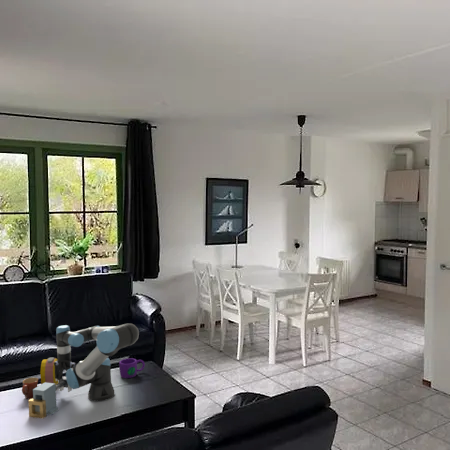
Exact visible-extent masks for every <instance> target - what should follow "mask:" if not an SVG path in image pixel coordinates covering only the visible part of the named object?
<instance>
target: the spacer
mask: <svg viewBox="0 0 450 450" xmlns="http://www.w3.org/2000/svg"><path fill="white" fill-rule="evenodd" d="M27 401H28V403H27V404H28V417H29V418H36V419H45V418H46V417H47V415H46V400H39V399H28V400H27ZM35 405H39V406H40V412H35Z"/></svg>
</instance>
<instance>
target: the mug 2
mask: <svg viewBox="0 0 450 450" xmlns="http://www.w3.org/2000/svg"><path fill="white" fill-rule="evenodd" d="M118 363H119V364H118V365H119V366H118V367H119V374H120V377H121V378H122V379H132V378H134V377H136V376H137V373H138V372H141V371H143V370H144V369H145V367H146V364H145V361H144V360H143V359H136V358H132V357H131V358H130V357H129V358H123V359H121V360H119V361H118ZM138 363H141V364H142V366H141V367H140V368H139V369H138Z"/></svg>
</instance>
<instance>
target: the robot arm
mask: <svg viewBox="0 0 450 450" xmlns="http://www.w3.org/2000/svg"><path fill="white" fill-rule="evenodd" d="M55 331H56V333H55V335H56V353H57V354H56V355H57V360H58V361H56V362H54V366H55V378H56V379H58V383H60V378H62V377H63V376H64V370H65V377H66V379H67V383H68V387H67V392H68V393H70V392H71V391H72V390H77V389H80V388H81V387H85V386H88V385H90V387H89V389H88V392H87V393H88V394H87V398H88V399H89V400H90V401H91V402H92V401H93V402H104V401H108V400H111V399H112V398H113V397H114V396H115V395H116V394H115V389H114V386H113V383H112V375H111V372H112V371H111V370H112V369H111V365H112V364H111V360H110V358H109V357H112V356H114V355H115V354H117V353H118V351H119V350H121V349H123V348H126V347H129V346H132V345H134V344H135V343H136V342H137V341H138V339H139V335H140V332H139V328H138V327H137V326H136V325H135V324H133V323H124V324H120V325H116V326H113V325H112V326H100V325H94V326H91V327H88V328H83V329H80V330H77V331H71V328H70V325H67V324H65V325H58V326H57V327H56V329H55ZM90 341H96V346H95V348H93V350H92V351H91V352H90V353H89V354H88V355H87V357H85V358H84V360H80V361H79V362H78V363H76V362H72V360H71V359H72V352H71V351H72V348H71V347H75V348H79V347H81V346H82V345H83V344H84V343H88V342H90ZM64 389H65V387H62V388H60V389H59V391H60V392H62V391H64Z"/></svg>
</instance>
